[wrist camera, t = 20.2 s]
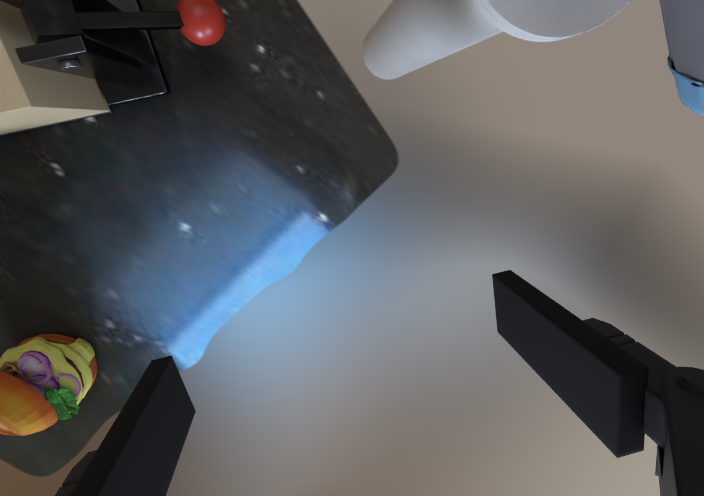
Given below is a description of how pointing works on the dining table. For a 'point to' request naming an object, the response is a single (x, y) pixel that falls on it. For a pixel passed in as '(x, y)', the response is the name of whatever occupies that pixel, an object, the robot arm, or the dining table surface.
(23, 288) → the dining table surface
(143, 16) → the lever
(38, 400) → the cheeseburger
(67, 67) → the lever bracket
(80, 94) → the toaster
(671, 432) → the robot arm
